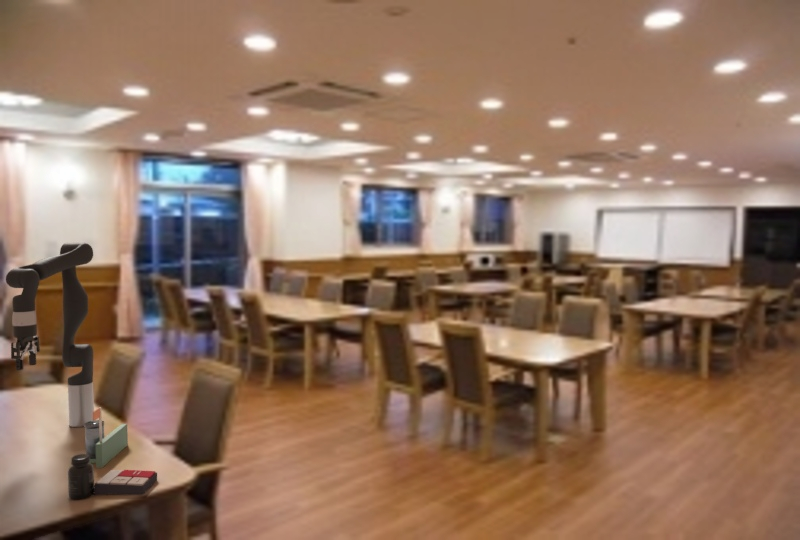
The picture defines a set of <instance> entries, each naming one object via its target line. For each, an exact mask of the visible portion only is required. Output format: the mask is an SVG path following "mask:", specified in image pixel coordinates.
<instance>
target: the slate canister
mask: <svg viewBox="0 0 800 540" xmlns="http://www.w3.org/2000/svg"><path fill="white" fill-rule="evenodd" d="M84 437H85V439H84V443H85V444H84V445H85V454H88V455H89V459H96V446H95V444H97V443H98V442H99V441H100V434H99V419H96V420H95V421H89V422H87V423H85V426H84ZM104 437H105V421H104V420H102V439H103V438H104Z"/></svg>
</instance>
